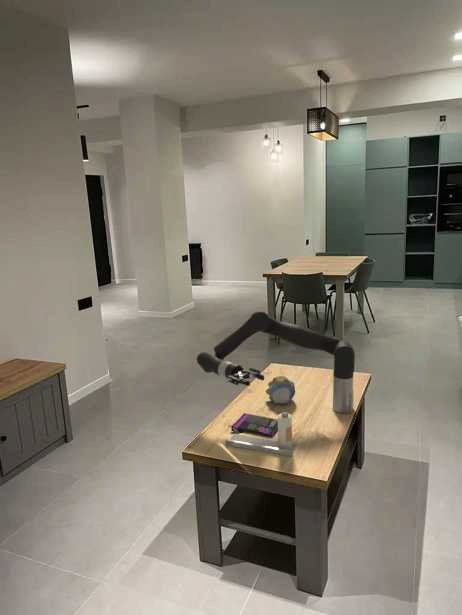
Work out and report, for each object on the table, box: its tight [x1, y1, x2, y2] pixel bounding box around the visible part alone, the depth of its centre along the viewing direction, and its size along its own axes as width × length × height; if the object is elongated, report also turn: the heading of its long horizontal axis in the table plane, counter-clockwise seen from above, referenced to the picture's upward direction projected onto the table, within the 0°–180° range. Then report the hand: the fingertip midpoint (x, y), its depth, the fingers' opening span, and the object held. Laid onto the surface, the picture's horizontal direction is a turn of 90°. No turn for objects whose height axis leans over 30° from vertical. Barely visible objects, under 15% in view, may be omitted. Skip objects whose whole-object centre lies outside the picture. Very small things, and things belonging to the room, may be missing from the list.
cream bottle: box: [277, 411, 293, 450], centre depth 185 cm, size 6×6×15 cm
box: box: [230, 412, 278, 438], centre depth 205 cm, size 14×4×20 cm
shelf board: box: [226, 433, 298, 458], centre depth 190 cm, size 28×10×1 cm, turn 68°
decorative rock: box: [265, 375, 296, 405], centre depth 232 cm, size 14×16×15 cm
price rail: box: [224, 438, 293, 457], centre depth 186 cm, size 28×1×2 cm, turn 68°
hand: (256, 380), depth 192 cm, fingers open, 8 cm apart
